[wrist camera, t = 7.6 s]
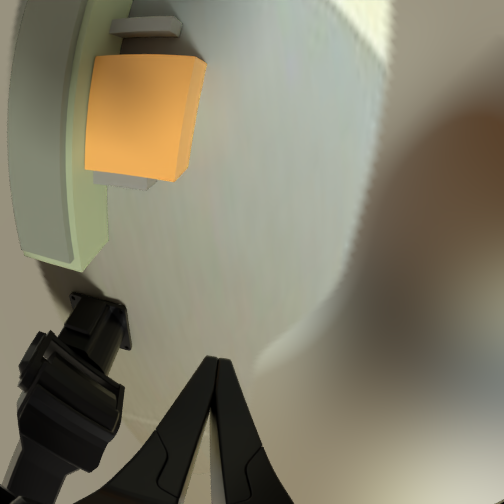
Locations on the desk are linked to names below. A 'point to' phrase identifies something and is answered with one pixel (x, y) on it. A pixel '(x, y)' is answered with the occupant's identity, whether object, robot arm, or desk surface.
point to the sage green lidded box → (65, 124)
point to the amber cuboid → (143, 114)
